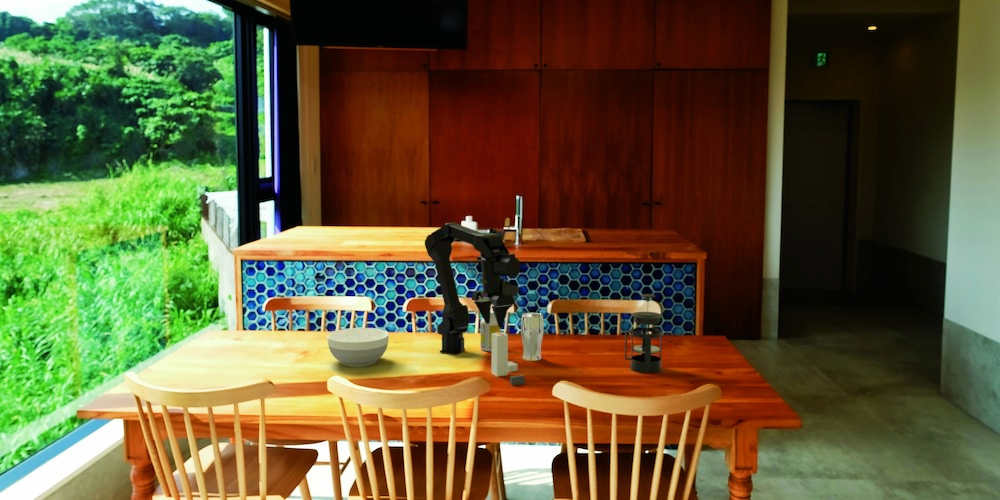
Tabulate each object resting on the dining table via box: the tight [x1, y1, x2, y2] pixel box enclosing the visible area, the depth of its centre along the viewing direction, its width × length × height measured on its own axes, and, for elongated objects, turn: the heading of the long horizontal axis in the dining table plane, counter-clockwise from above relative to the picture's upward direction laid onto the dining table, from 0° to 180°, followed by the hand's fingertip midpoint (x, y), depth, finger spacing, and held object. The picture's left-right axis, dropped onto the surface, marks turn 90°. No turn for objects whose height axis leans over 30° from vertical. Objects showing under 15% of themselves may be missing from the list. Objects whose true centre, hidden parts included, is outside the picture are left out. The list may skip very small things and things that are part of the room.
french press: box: [624, 293, 663, 374], centre depth 252 cm, size 12×9×23 cm
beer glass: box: [520, 312, 544, 362], centre depth 260 cm, size 7×7×15 cm
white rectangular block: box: [491, 331, 509, 377], centre depth 242 cm, size 4×4×12 cm
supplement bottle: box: [479, 309, 502, 352], centre depth 275 cm, size 7×7×13 cm
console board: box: [508, 360, 525, 387], centre depth 241 cm, size 20×14×3 cm
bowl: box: [326, 327, 390, 368], centre depth 259 cm, size 19×19×9 cm
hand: (494, 325), depth 256 cm, fingers open, 9 cm apart
